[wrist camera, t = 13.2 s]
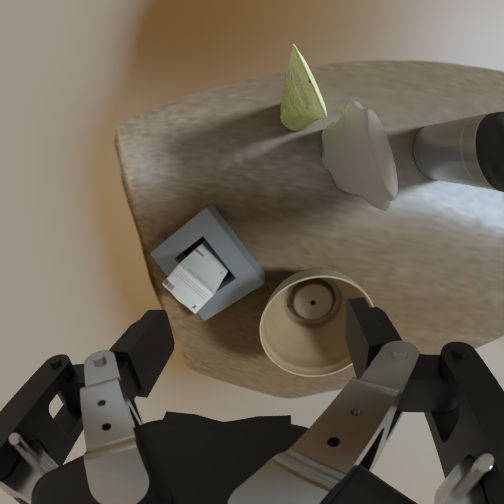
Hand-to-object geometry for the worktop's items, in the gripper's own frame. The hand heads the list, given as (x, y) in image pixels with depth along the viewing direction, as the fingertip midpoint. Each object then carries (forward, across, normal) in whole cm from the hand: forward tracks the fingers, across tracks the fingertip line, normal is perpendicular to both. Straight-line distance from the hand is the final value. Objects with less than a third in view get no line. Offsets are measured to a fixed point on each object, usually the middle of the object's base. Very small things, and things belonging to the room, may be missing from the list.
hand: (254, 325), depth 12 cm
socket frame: (+33, +11, +7) cm, 36 cm away
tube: (+33, -5, -14) cm, 36 cm away
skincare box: (+33, +11, +7) cm, 36 cm away
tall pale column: (+33, -10, -7) cm, 35 cm away
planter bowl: (+33, -5, +15) cm, 37 cm away
